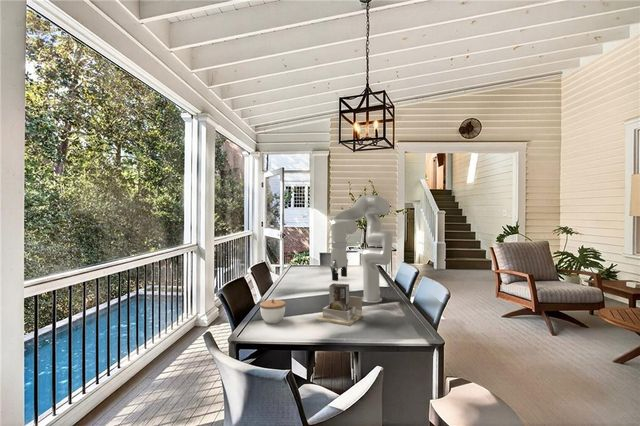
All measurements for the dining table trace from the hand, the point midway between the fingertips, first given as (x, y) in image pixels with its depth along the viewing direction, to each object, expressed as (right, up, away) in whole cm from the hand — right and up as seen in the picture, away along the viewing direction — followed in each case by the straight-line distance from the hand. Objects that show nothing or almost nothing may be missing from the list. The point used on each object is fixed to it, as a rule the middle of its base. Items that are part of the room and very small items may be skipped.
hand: (339, 278), depth 184 cm
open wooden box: (0, -20, 0) cm, 20 cm away
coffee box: (0, -20, 0) cm, 20 cm away
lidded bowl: (-34, -21, -3) cm, 40 cm away
